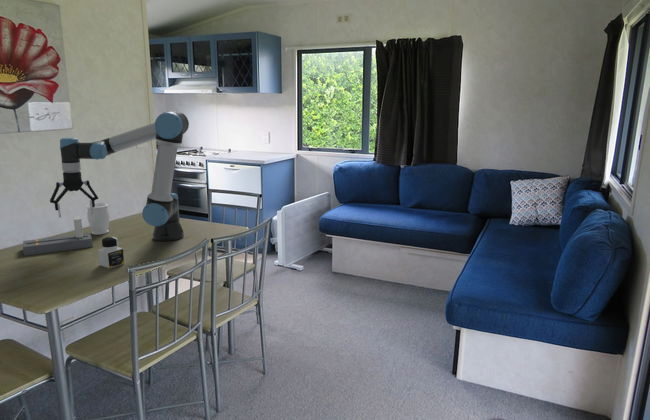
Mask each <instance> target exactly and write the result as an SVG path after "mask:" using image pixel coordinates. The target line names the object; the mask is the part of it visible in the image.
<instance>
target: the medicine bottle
mask: <svg viewBox="0 0 650 420" xmlns="http://www.w3.org/2000/svg"><path fill="white" fill-rule="evenodd" d="M101 245H102V247H101V248H100V249H98V250H97V251H98V263H99V266H101V267H104V268H107V269H112V268H115V267H118V266H122V265H124V264H125V259H124V258H125V257H124V248H123V247H119V243H118V238H117V237H115V236H107V237H104V238H102V240H101Z"/></svg>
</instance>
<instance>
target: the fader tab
mask: <svg viewBox="0 0 650 420" xmlns="http://www.w3.org/2000/svg"><path fill="white" fill-rule="evenodd" d="M72 219H73V227H74V235H75V236H76V238H81V237H83V234H84V233H83V225H82V224H83V223H82V217H81V216H73V217H72Z"/></svg>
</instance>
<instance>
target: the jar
mask: <svg viewBox="0 0 650 420" xmlns="http://www.w3.org/2000/svg"><path fill="white" fill-rule="evenodd" d="M92 208H93V215H91V210H90V204H87V205H86V209H87V211H86V212H87V213H86V215H87V217H86V218H87V222H88V224H89V225H88V226H89V228H90V229H91V233H90V234H91V235H96V236H97V235H98V236H99V235H104V234H108V233H109V231H110V230H109V226H110V216H111V215H110V211H109V203H106V202H105V203H103V202H96V203H95V207H92Z"/></svg>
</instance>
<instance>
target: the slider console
mask: <svg viewBox="0 0 650 420" xmlns="http://www.w3.org/2000/svg"><path fill="white" fill-rule="evenodd" d="M93 246H94V245H93V238H92V234H91V233H90V232H87V233H83V237H81V238H76V236H75V234H71V235H63V236H62V235H61V236H54V237H46V238H35V239H30V240H23V241H22V251H23V256H32V255H40V254H48V253H55V252H62V251H64V252H65V251H70V250H76V249H78V250H79V249H85V248H92V247H93Z"/></svg>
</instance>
